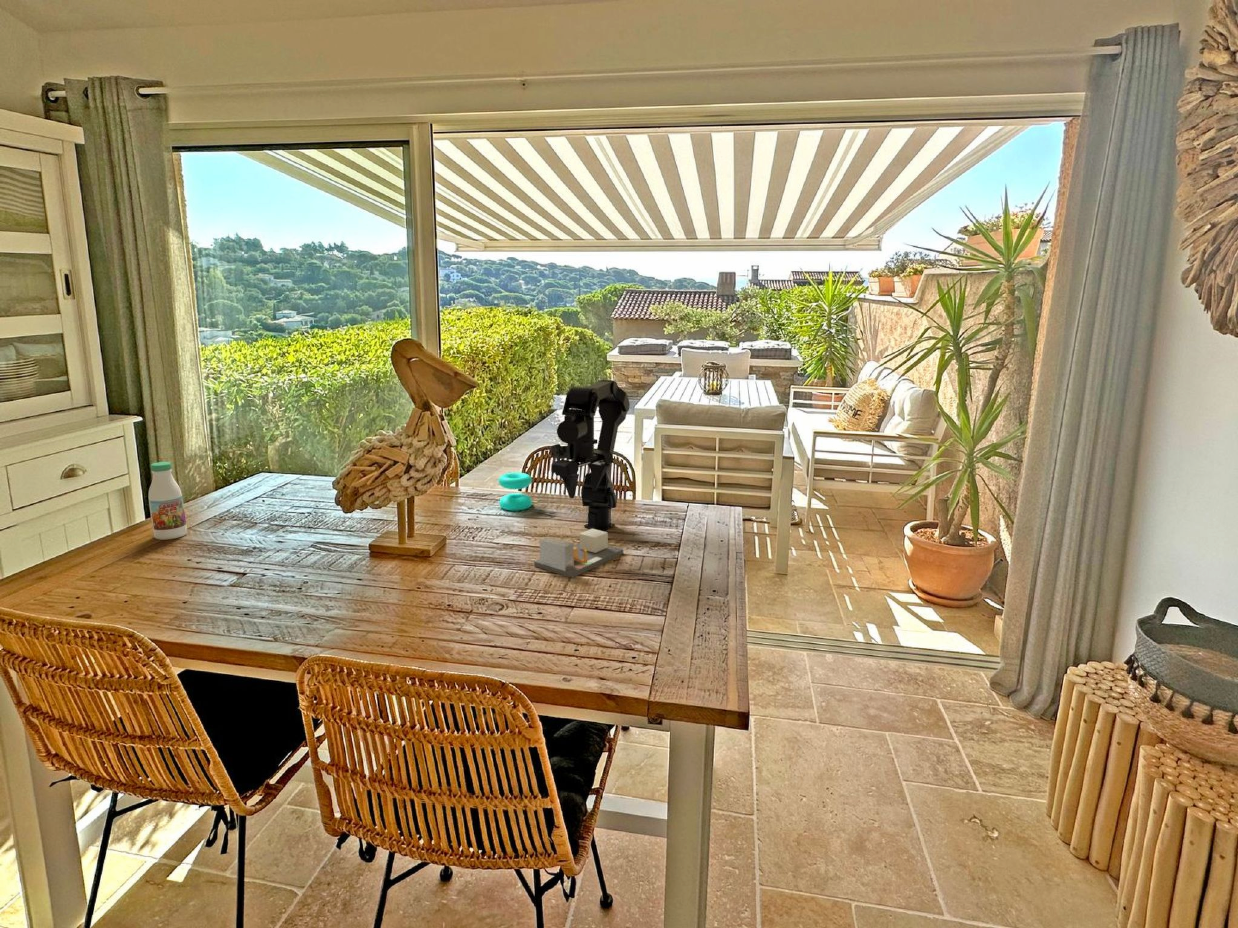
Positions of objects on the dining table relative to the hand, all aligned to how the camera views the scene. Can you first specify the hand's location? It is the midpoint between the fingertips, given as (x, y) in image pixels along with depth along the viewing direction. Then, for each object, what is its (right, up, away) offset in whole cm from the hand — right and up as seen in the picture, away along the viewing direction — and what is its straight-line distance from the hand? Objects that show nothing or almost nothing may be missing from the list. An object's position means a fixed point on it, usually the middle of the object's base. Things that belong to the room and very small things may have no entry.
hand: (583, 494), depth 191 cm
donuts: (-22, -5, +33) cm, 40 cm away
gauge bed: (0, -16, -10) cm, 19 cm away
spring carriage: (+3, -13, -6) cm, 15 cm away
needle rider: (-1, -15, -15) cm, 21 cm away
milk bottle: (-111, -12, +5) cm, 112 cm away
